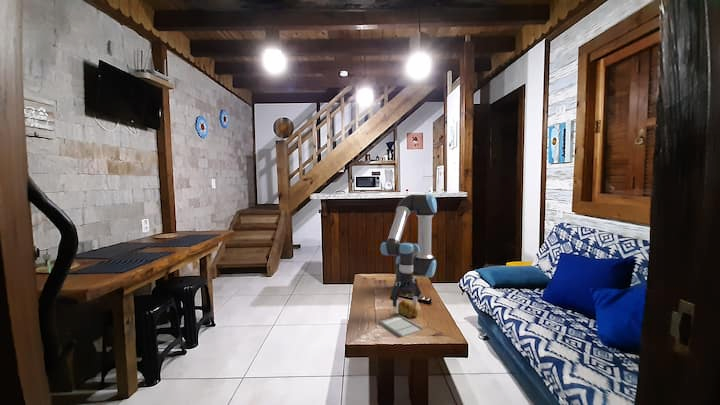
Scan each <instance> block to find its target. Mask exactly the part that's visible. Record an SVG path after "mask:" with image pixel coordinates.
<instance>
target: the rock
mask: <svg viewBox="0 0 720 405" xmlns="http://www.w3.org/2000/svg"><path fill="white" fill-rule="evenodd" d="M396 314H397V316H398V315H401V316H403V317H405V316H406V318H407V319H408V318H409V319H410V318H414V317H415V318H416V317H418V316H419V310H418V307H417V308H416V307H413V304H410V303H409V302H407V301H405V300H404V299H403V300H401V301H399V302H398V313H396Z"/></svg>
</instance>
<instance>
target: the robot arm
mask: <svg viewBox="0 0 720 405" xmlns="http://www.w3.org/2000/svg"><path fill="white" fill-rule="evenodd" d="M437 205H438V204H437V199H436V197H435V196H434V195H433V194H409V195H406V196H405V197H403V198H402V199H401V200H400V201H399V202H398V204H397V206H396V209H395V212H396V213H395V215H394V219H393V223H392V225H391V228H390V230H389V233H388V234H389V235H388V238H387V240H386V241H385V242H384V241H383V242H382V243H381V244H380V248H379V249H380V252H381V254H382V255H384V256H389V257H390V256H391V257H396V258H395V279H394V284H393V286H392V288H393V289H392V291H391V295H390V297H389V300H391V301H392V307H393V312H394V313H395V314H397V313H398V305H399V301H398V300H399V298H400V296H401V294H403V293H404V294H410V293H412V294H413V295H412V306H413V307H416V308H417V309H418V302H419V297H420V296H421V295H422V292H421V289H420V286H419V283H418V280H417V278H414V276H415V277H422V278H433V277H434V275H435V272H436V269H437V260H436V259H434V258H435V256H433V254H432V230H433V229H432V225H433V224H432V221H433V220H432V219H433V217H434V216H435V213H437V212H438V211H437V210H438V209H437V208H438V206H437ZM412 213H415V216H417V218H418V219H417V220H418V221H417V222H418V224H417V226H418V227H417V229H418V231H417V232H418V233H417V240H418V242H417V243H414V242H413V243H411V242H401V239H402V235H403V232H404V229H405V226H406V223H407V221H408V220H407V219H408V218H409V216H410V214H412ZM400 242H401V243H400Z"/></svg>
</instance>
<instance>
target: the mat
mask: <svg viewBox="0 0 720 405" xmlns="http://www.w3.org/2000/svg"><path fill="white" fill-rule="evenodd" d="M378 324H380V325H381V326H383V327H385V329H387V330H388V331H390V332H392V333H394V334H395V335H396V336H397V337H399V338H402V337H406V336H409V335H411V334H415V333H418V332H420V331H423V327H422V326H420V325H419V324H417V323H415V322H413V321H412V320H410V319H408V318H407V317H405V316H402V315H401V314H399V315H398V314H397V316H393V317H390V318H386V319H383V320H380V319H379V320H378Z"/></svg>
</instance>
